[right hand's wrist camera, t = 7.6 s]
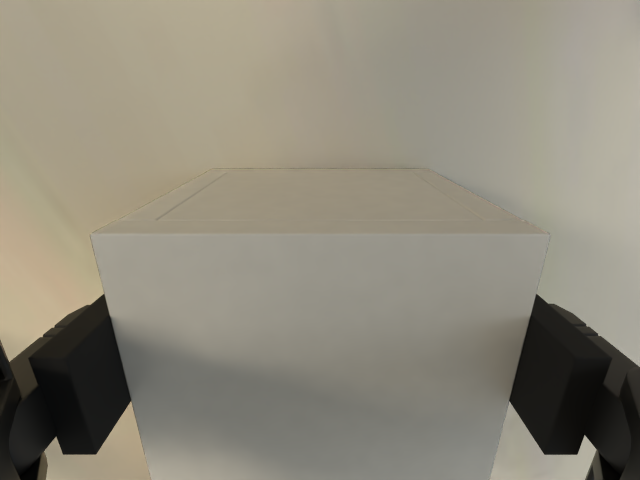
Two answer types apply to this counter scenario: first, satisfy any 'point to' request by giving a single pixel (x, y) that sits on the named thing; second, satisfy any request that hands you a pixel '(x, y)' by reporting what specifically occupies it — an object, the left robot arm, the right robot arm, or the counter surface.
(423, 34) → the counter surface
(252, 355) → the cabinet
